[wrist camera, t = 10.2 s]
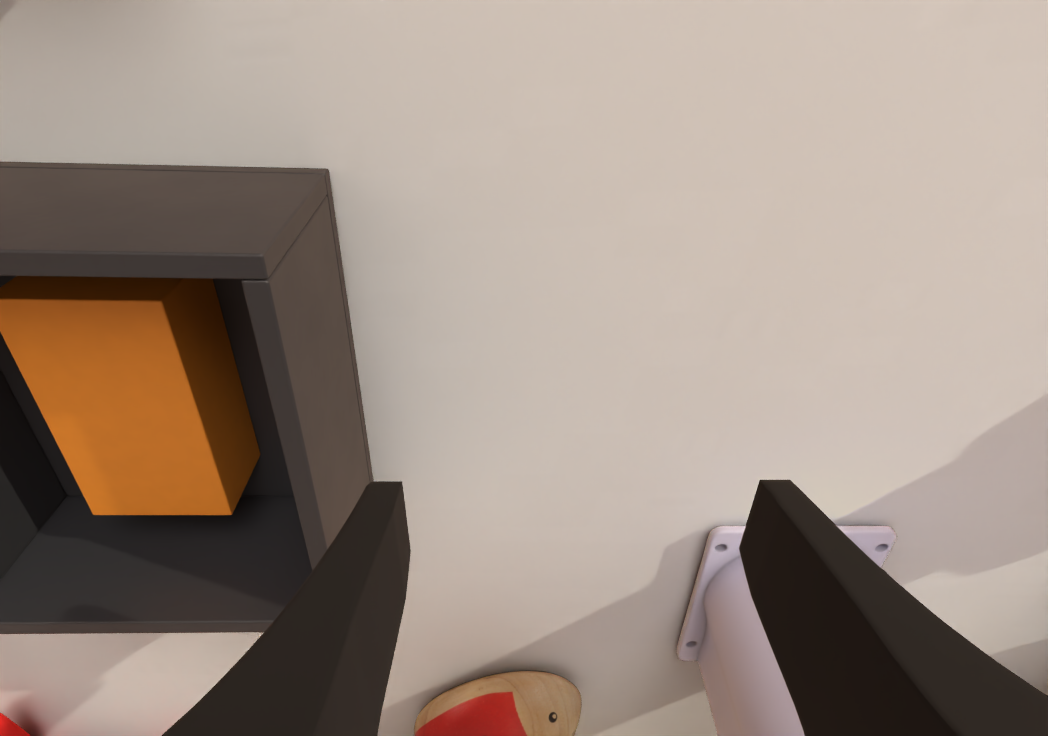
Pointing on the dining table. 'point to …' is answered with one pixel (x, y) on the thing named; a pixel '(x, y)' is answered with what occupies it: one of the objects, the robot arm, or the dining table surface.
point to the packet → (135, 389)
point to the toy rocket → (10, 728)
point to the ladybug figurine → (504, 707)
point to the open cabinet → (266, 377)
